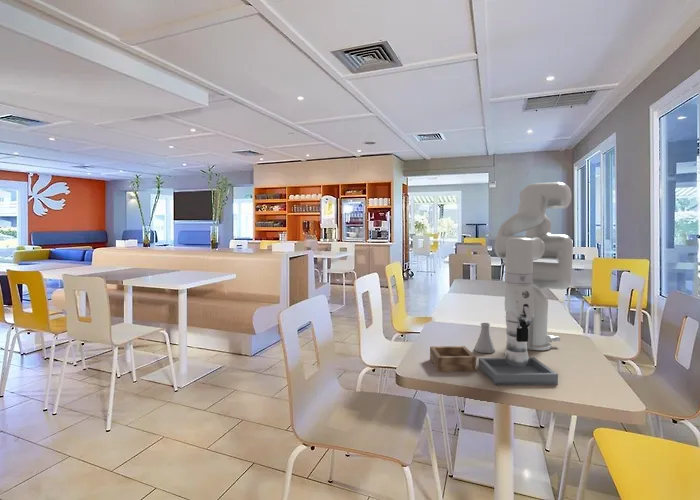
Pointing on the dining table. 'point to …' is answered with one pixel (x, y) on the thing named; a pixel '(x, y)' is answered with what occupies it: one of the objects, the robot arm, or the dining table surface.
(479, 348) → the flask
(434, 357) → the holder
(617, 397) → the dining table surface
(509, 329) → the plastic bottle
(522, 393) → the dining table surface
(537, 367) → the parts tray
